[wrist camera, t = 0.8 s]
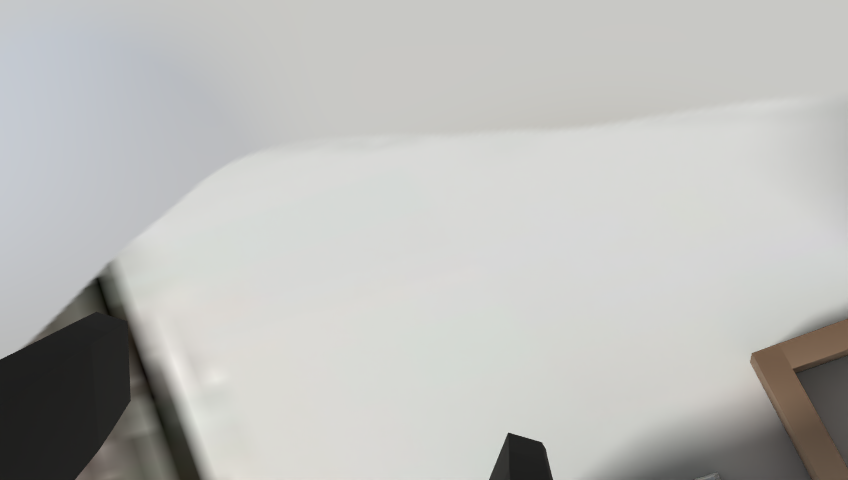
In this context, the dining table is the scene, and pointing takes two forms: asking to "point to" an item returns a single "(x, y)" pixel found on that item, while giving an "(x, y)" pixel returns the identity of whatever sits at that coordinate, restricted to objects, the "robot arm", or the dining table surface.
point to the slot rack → (804, 395)
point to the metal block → (710, 477)
